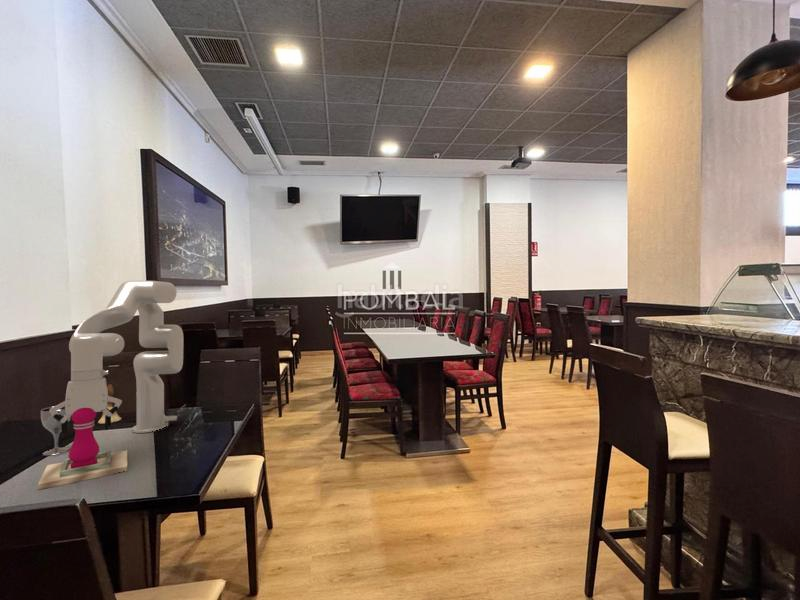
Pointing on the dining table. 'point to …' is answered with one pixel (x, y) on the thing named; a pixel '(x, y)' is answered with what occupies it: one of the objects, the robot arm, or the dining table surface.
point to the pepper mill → (83, 439)
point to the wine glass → (53, 428)
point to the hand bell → (114, 415)
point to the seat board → (83, 470)
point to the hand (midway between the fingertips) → (87, 431)
